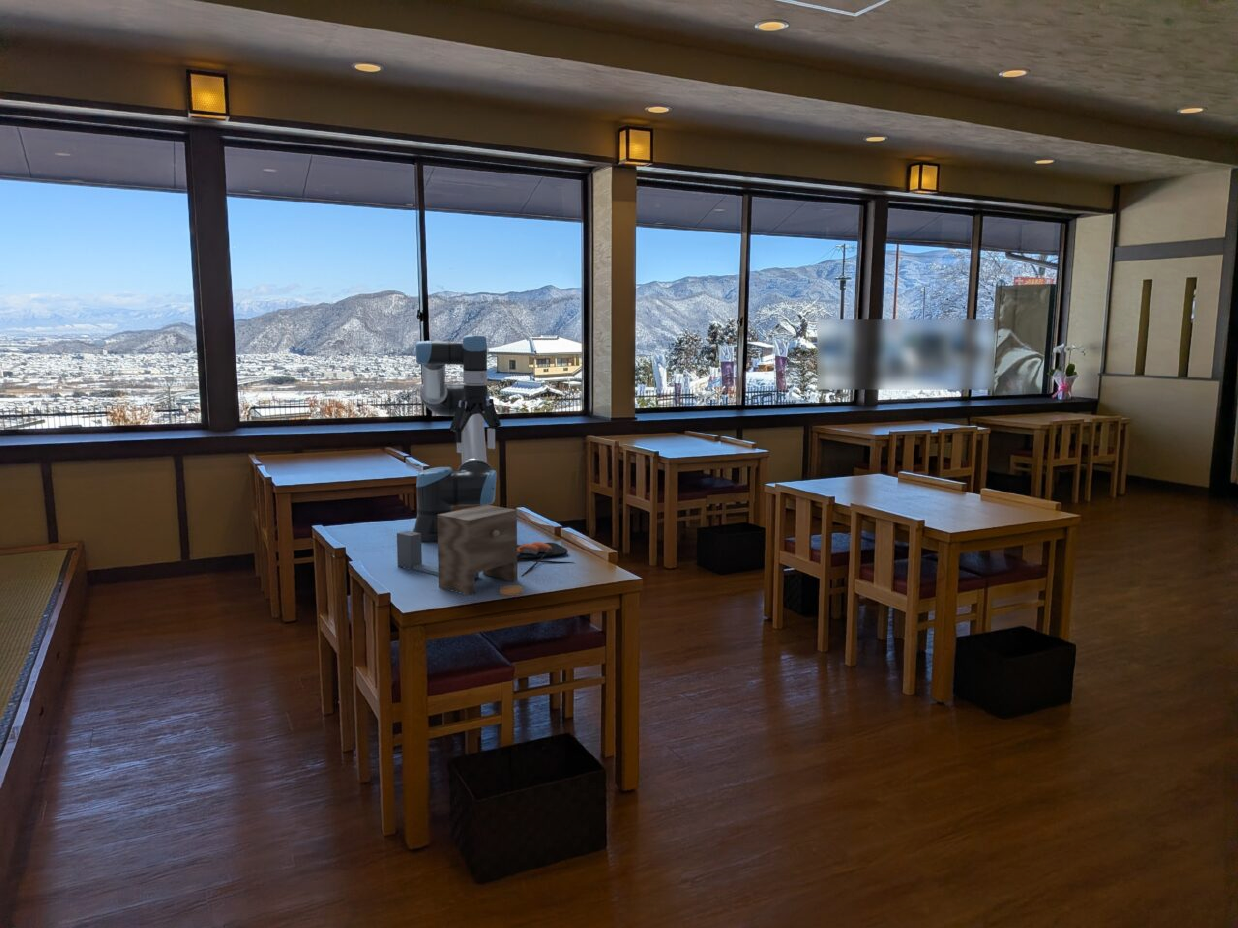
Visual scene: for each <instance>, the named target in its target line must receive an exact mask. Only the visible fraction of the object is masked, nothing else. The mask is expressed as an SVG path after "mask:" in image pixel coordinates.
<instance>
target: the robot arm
mask: <svg viewBox="0 0 1238 928" xmlns="http://www.w3.org/2000/svg"><path fill="white" fill-rule="evenodd" d="M415 361H416V362H415V363H416V364H417V365H422V366H421V367H422V368H421V369H422V372H421V373H422V384H421V386H420V389H419V394H420V400H421V401H422V403H423V405H424V406H425V407H426V408H427V409H428V410H430V411H431V412H433V413H435V414H437V415H439V416H443V417H453V418H452V420H451V424H450V426H449V430H450V431H452V432H453V433H455V435H454V437H455V443H456V453H458V454H461V465H460V466H459V467H458V469H457V471H456V470H455V471H454V470H453V468H452V467H451V466H437V467H431V468H427V469H424V470H421V471H419V472H418V473H417V474H416V485H415V487H416V510H417V513H416V514H417V515H416V519H415V523H414V527H413V529H412V532H416V533H421V542H425V543H426V542H427V543H428V542H429V543H435V542H437V543H438V520H437V515H438V514H443V513H448V512H453V507H454V506H455V507H456V506H457V507H460V506H481V505H491V504H494V503H495V500H496V489H497V488H496V487H497V477H498V476H497V475H498V474H497V473H498V472H497V470H495V469H493V468H492V465H490V464H489V463H488V460H487V449H491V450H495V449H496V438H497V430H498V429H499V428H500V427H501V426H502V424H501V423H502V422H501V421H500V418H499V415H498V413H497V409H496V407H495V403H494V398H491V396H490V392H489V389H488V386H487V385H486V384H487V383H488V343H487V337H486V336H485V335H464V336H463V338H462V341H454V340H453V341H440V340H439V341H436V340H435V341H434V340H426V341H425V340H424V341H423V340H422V341H421V340H420V341H417V342H416V343H415ZM447 365H448V366H449V365H451V366H452V365H453V366H454V365H457V366H459V365H460V366H462V365H463V368H462V369H463V370H462V371H463V373H462V375H463V376H462V377H463V378H462V379H463V381H462V382H463V384H445V383H446V366H447ZM485 424H486V425H487V426H488V427H489V428H487V431H486V432H487V433H486V435H487V447H486V436H485Z"/></svg>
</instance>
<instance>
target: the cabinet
mask: <svg viewBox="0 0 1238 928" xmlns="http://www.w3.org/2000/svg"><path fill="white" fill-rule="evenodd" d="M437 520H438V542H437V559H438V563H437V565H438V567H437V568H439V576H438V588H440V589H443V590H444V589H445V590H448V591H451V590H453V591H452V592H455V591H457V592H456V593H459V592H461V593H460V594H463V593H465V594H464V595H466V594H468V595H467V596H473V595H475V579H474V574H475V573H482V575H484V576H488V577H494V578H498V579H502V580H506V581H510V582H516V581H518V561H517V546H518V510H517V509H513V508H507V507H502V506H498V505H497V506H496V505H491V504H488V505H476V506H472V507H469V508H468V507H467V508H463V509H457V510H454V511H453V512H448V513H443V514H438V515H437ZM472 594H473V595H472Z"/></svg>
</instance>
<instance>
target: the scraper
mask: <svg viewBox="0 0 1238 928" xmlns="http://www.w3.org/2000/svg"><path fill="white" fill-rule="evenodd" d="M396 549H397V550H396V551H397V554H396V555H397V567H399V566H401V567H400V568H403V567H405V568H404V569H407V568H409V569H408V570H410V569H412V570H413V569H415V571H417V570H419V571H418V572H421V571H423V572H422V573H425V572H426V574H429V573H430V575H433V574H434V576H437V577H439V568H438V567H435V566H431V565H426V564H423V555H422V553H423V552H422V541H421V533H416V532H413V531H410V530H405V531H400V532H396ZM479 573H480V572H479ZM479 573H475V574H474V580H476V579H477V578H479Z"/></svg>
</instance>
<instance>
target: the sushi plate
mask: <svg viewBox="0 0 1238 928" xmlns="http://www.w3.org/2000/svg"><path fill="white" fill-rule="evenodd" d="M568 551H569V550H568V549H566V548H565V547H563V546H562V545H560V544H558V543H555V542H540V541H535V542H532V543H524V544H521V545H520V544H519V545H518V544H517V562H519V561H520V562H534V564H532V565H531V567H529V568H528V569H527V570H526V571H525V572H523V574H522V575H521V577H525V576H526V575H527V574H528V572H529V571H530V570H531V571H532V569H534V568H535V567H536V565H537V564H539V563H548V564H575V563H574V562H575V561H574V562H573V561H559V560H557V561H556V560H542V559H544V558H546V557H554V556H560V555H565V554H568ZM536 558H539V559H537V560H535V559H536ZM531 571H530V572H531ZM530 572H529V573H530ZM525 574H526V575H525ZM524 575H525V576H524Z"/></svg>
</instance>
